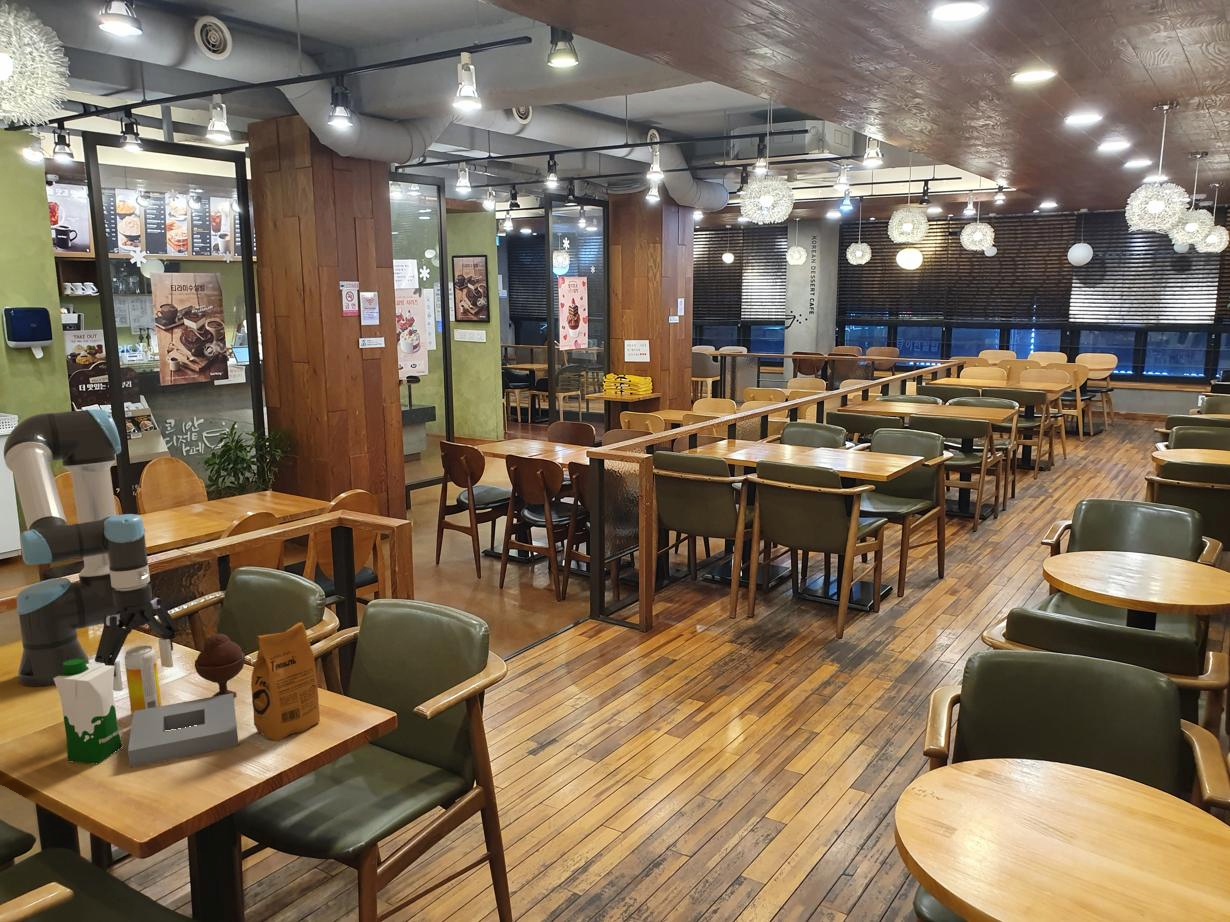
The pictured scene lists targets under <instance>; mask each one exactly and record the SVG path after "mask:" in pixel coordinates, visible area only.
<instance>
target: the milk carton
mask: <svg viewBox="0 0 1230 922" xmlns="http://www.w3.org/2000/svg"><path fill="white" fill-rule="evenodd" d="M114 667H115V666H107V665H105V664H104V663H100V664H99V663H98V664H96V663H89V664H86V660H85V658H74V659H70V660H67V661H65V662H63V671H64V672H63V673H62V674H60V675H58V676H57V677H55V678H54V682H55V684H54V685H55V686H56V687H55V688H56V689H57V692H58V694H59V698H60V701H61V707H62V708H61V709H62V716H63V722H64V730H65V731H64V732H65V736H66V737H65V738H66V753H67V762H68V761H73V762H72V763H79V762H84V763H83V764H91V763H95V764H94V765H99V764H100V762H101V761H102V762H103V760H104V759H105V760H107V759H108V758H110V757H111V756H112V755H111V754H113V753H114V752H115V751H117V750H118V749H120V748H121V747H122V746H123V742H122V739H121V735H120V730H119V727H118V725H119V724H118V717H117V710H116V703H115V702H116V701H115V696H114V694H115V693H114V690H113V679H114ZM121 749H122V748H121ZM121 749H120V750H121ZM118 751H119V750H118ZM118 751H117V752H118ZM115 753H116V752H115ZM115 753H114V754H115ZM114 754H113V755H114ZM110 755H111V756H110ZM109 756H110V757H109ZM107 757H108V758H107ZM106 758H107V759H106ZM105 760H104V761H105ZM102 762H101V763H102ZM96 763H97V764H96Z"/></svg>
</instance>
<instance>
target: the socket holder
mask: <svg viewBox="0 0 1230 922" xmlns="http://www.w3.org/2000/svg"><path fill="white" fill-rule="evenodd" d="M235 706H236V705H235V698H234V696H233V693H231V694H225V695H220V696H214V697H212V696H210V697H209V696H208V697H203V698H199V699H193V700H188V701H183V702H177V703H171V704H166V705H162V706H159V707H154V708H148V709H143V710H137V711H134V713H133V715H132V720H131V728H130V734H129V735H130V736H129V741H128V749H127V754H128V761H129V762H128V763H129V767H130V768H134V767H133V766H135V767H140V766H144V764H145V765H148V764H149V763H150V764H154V763H158V762H159V761H160V762H163V761H164V760H165V761H169V760H174V759H179V758H183V757H188V756H193V755H199V754H204V753H208V752H213V751H214V752H215V751H218V750H224V749H228V748H234V747H237V746H240V744H239V736H238V734H239V733H238V726H237V718H236V717H237V716H236V707H235ZM194 725H197V726H194ZM189 726H191V727H189ZM185 727H186V728H185ZM178 728H181V729H178ZM171 729H176V730H171ZM165 730H171V731H165ZM165 761H164V762H165ZM139 765H140V766H139Z"/></svg>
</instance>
